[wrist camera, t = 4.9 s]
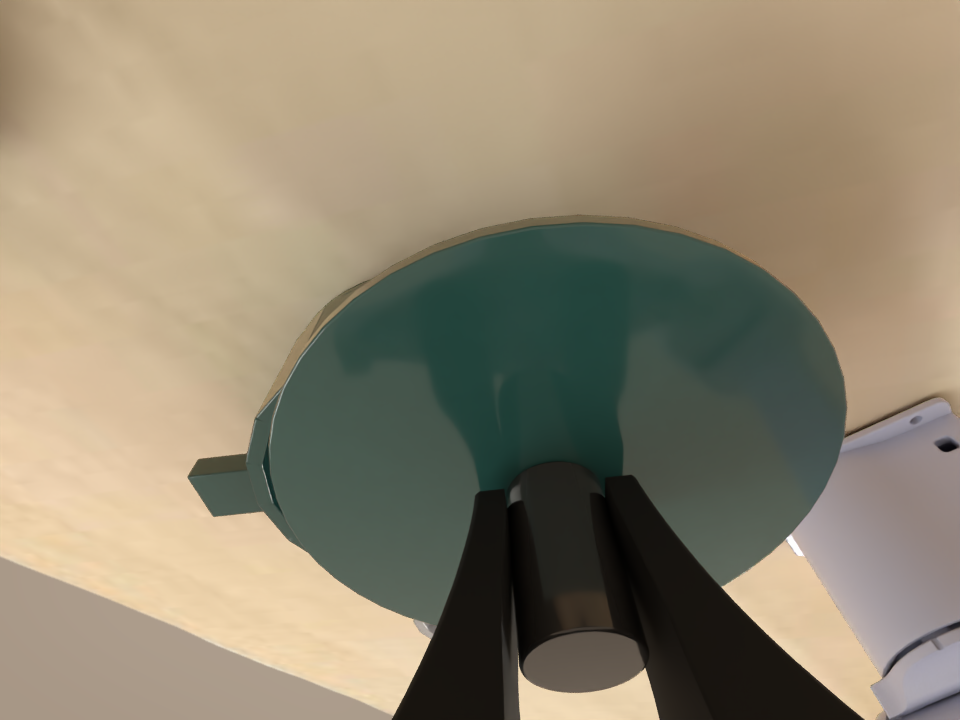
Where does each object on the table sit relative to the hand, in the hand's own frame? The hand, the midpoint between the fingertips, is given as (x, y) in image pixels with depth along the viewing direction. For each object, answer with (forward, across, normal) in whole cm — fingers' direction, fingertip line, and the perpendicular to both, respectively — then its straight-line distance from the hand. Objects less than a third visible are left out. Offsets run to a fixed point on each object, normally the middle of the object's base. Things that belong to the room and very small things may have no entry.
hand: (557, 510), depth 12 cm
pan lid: (+1, 0, 0) cm, 1 cm away
